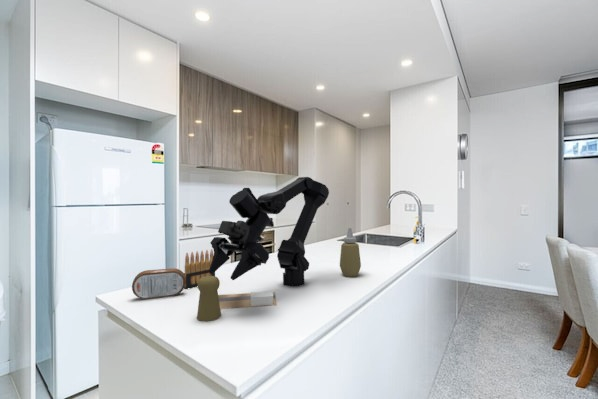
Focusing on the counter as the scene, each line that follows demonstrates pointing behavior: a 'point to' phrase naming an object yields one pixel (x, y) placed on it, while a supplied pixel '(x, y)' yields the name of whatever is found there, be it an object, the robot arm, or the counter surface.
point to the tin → (158, 283)
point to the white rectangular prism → (261, 298)
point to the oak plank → (239, 301)
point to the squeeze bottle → (350, 256)
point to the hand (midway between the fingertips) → (220, 276)
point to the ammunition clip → (197, 268)
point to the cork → (208, 299)
